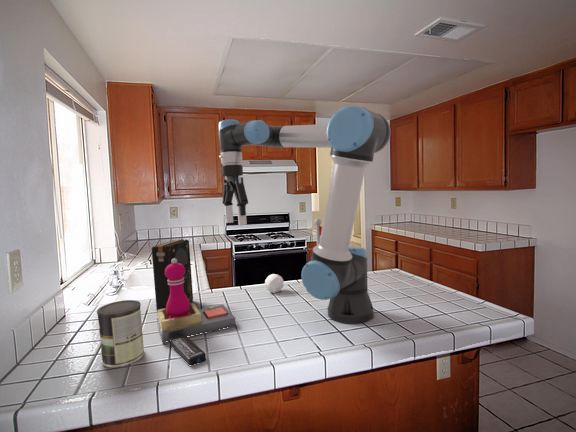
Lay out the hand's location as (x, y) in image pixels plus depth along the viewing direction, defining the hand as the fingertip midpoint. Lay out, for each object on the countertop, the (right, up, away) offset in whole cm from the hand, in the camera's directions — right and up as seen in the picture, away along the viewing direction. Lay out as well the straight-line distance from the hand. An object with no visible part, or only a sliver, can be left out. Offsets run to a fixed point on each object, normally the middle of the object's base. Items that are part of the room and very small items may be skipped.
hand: (235, 223), depth 121 cm
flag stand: (+33, -28, +20) cm, 48 cm away
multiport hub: (-8, -35, -31) cm, 47 cm away
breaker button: (-5, -32, -11) cm, 34 cm away
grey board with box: (-11, -33, -14) cm, 37 cm away
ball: (+13, -29, +18) cm, 37 cm away
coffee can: (-25, -35, -32) cm, 54 cm away
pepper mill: (-15, -30, -16) cm, 38 cm away
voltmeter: (-24, -32, +6) cm, 40 cm away
